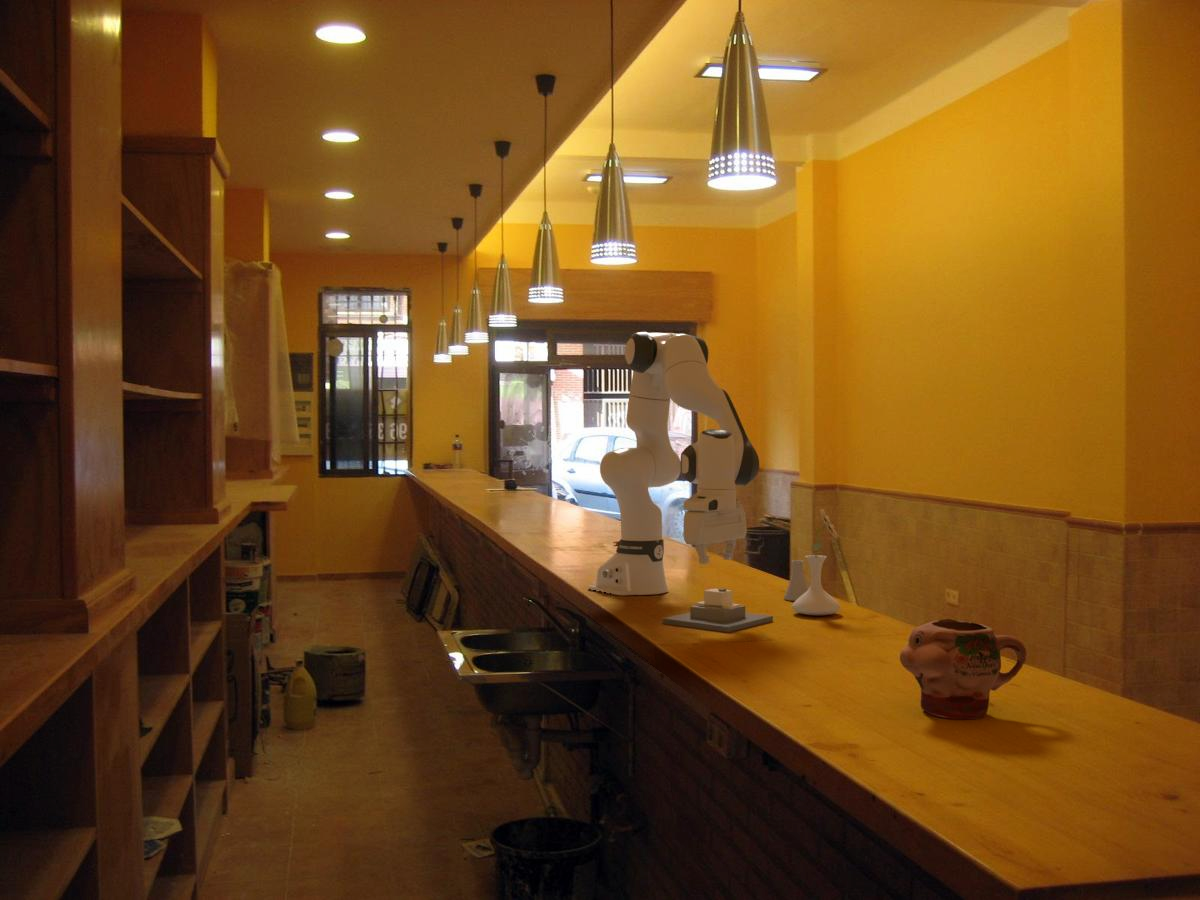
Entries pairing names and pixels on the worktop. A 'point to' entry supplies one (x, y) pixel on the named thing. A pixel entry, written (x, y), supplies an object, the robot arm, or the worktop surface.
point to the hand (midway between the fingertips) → (716, 561)
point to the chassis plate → (718, 619)
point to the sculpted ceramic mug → (958, 666)
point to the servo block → (718, 599)
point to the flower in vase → (817, 582)
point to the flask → (796, 582)
